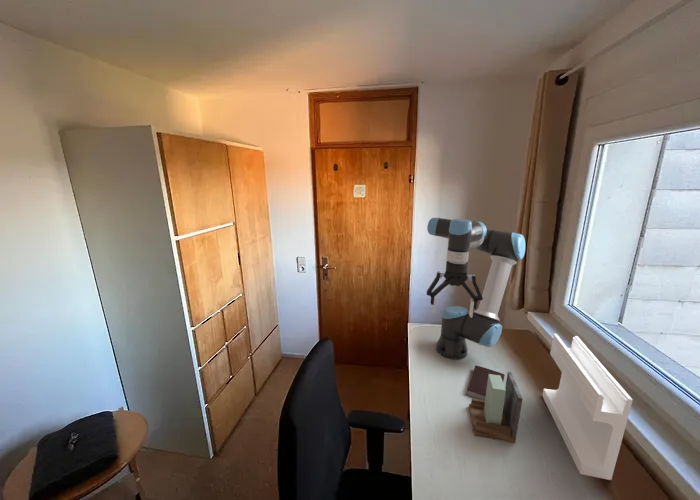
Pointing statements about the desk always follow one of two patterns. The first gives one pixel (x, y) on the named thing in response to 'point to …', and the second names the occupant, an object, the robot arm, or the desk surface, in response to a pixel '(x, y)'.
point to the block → (588, 408)
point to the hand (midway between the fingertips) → (452, 314)
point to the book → (480, 382)
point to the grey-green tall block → (494, 399)
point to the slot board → (509, 416)
